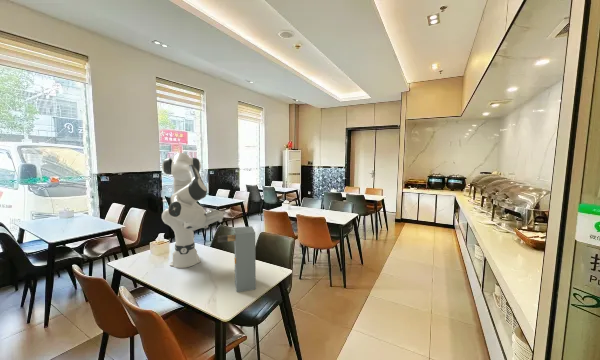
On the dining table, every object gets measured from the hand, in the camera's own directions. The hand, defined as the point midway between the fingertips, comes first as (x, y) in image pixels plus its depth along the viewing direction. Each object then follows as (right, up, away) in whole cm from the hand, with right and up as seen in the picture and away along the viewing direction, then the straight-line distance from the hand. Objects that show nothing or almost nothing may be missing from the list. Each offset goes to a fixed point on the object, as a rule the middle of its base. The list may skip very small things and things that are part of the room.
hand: (214, 223), depth 139 cm
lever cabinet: (+18, -34, -3) cm, 38 cm away
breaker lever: (+13, -8, -6) cm, 16 cm away
